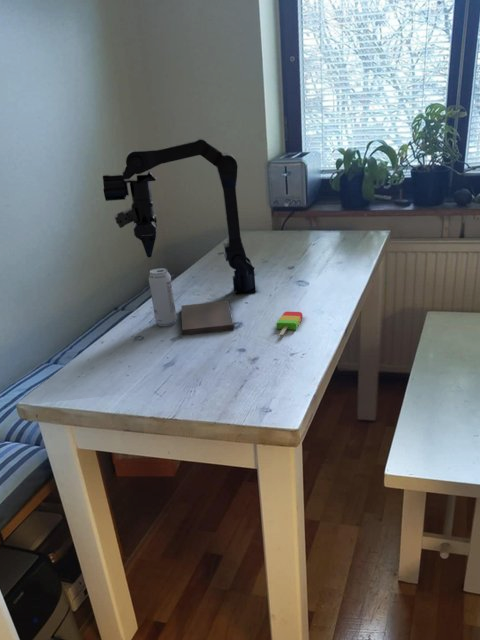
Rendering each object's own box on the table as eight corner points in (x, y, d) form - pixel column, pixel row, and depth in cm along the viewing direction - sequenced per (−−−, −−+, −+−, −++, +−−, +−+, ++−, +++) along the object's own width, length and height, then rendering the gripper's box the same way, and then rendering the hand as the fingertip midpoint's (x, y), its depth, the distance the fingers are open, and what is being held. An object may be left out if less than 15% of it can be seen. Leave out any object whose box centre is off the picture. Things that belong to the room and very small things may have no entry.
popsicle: (303, 317, 169) (303, 311, 168) (291, 338, 157) (290, 331, 156) (284, 317, 171) (284, 310, 170) (270, 337, 159) (270, 331, 158)
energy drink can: (158, 319, 176) (149, 268, 168) (178, 318, 175) (171, 267, 167) (154, 327, 171) (145, 274, 162) (175, 326, 170) (167, 273, 162)
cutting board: (228, 305, 182) (227, 300, 181) (233, 329, 165) (233, 324, 164) (181, 310, 181) (181, 305, 180) (182, 335, 164) (182, 329, 164)
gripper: (115, 194, 182) (124, 247, 190) (111, 206, 166) (121, 263, 174) (152, 192, 183) (159, 245, 191) (152, 203, 167) (159, 260, 175)
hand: (149, 253), depth 183 cm, fingers open, 9 cm apart
